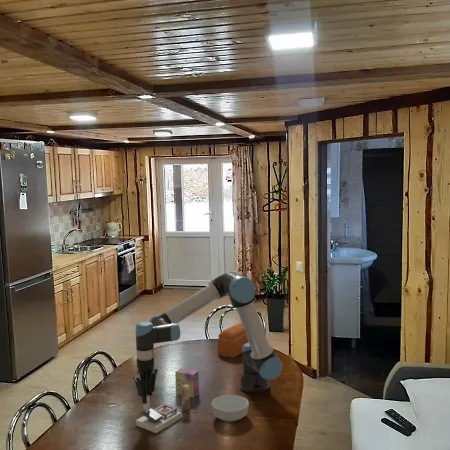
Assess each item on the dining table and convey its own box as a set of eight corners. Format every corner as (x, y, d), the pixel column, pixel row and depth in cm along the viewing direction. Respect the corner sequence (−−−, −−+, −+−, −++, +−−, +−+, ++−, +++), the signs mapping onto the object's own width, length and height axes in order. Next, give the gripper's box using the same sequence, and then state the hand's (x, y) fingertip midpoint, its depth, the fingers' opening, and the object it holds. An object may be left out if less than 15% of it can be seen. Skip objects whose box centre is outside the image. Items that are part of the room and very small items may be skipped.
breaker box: (181, 417, 218) (180, 408, 218) (156, 433, 205) (155, 423, 205) (161, 411, 225) (161, 402, 225) (136, 425, 212) (136, 416, 212)
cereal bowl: (236, 430, 206) (236, 414, 206) (204, 421, 215) (204, 405, 214) (255, 413, 220) (255, 399, 220) (224, 405, 229) (224, 391, 229)
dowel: (191, 408, 227) (190, 385, 226) (186, 411, 224) (185, 388, 223) (185, 406, 229) (184, 383, 228) (180, 409, 227) (179, 386, 226)
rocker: (162, 418, 211) (162, 415, 211) (155, 423, 208) (155, 419, 207) (149, 410, 216) (149, 407, 215) (142, 414, 212) (142, 411, 212)
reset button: (171, 413, 219) (171, 410, 219) (165, 416, 215) (165, 413, 215) (164, 411, 221) (164, 407, 221) (158, 414, 218) (158, 411, 218)
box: (199, 393, 243) (198, 370, 242) (193, 397, 238) (193, 374, 237) (181, 389, 248) (180, 367, 247) (175, 394, 243) (174, 371, 242)
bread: (215, 354, 297) (214, 329, 296) (239, 342, 318) (239, 319, 317) (233, 359, 289) (233, 333, 288) (257, 346, 310) (256, 322, 309)
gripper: (149, 351, 219) (151, 401, 221) (128, 360, 208) (130, 413, 210) (161, 355, 214) (163, 406, 216) (140, 364, 204) (142, 417, 206)
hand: (146, 409), depth 213 cm, fingers closed
